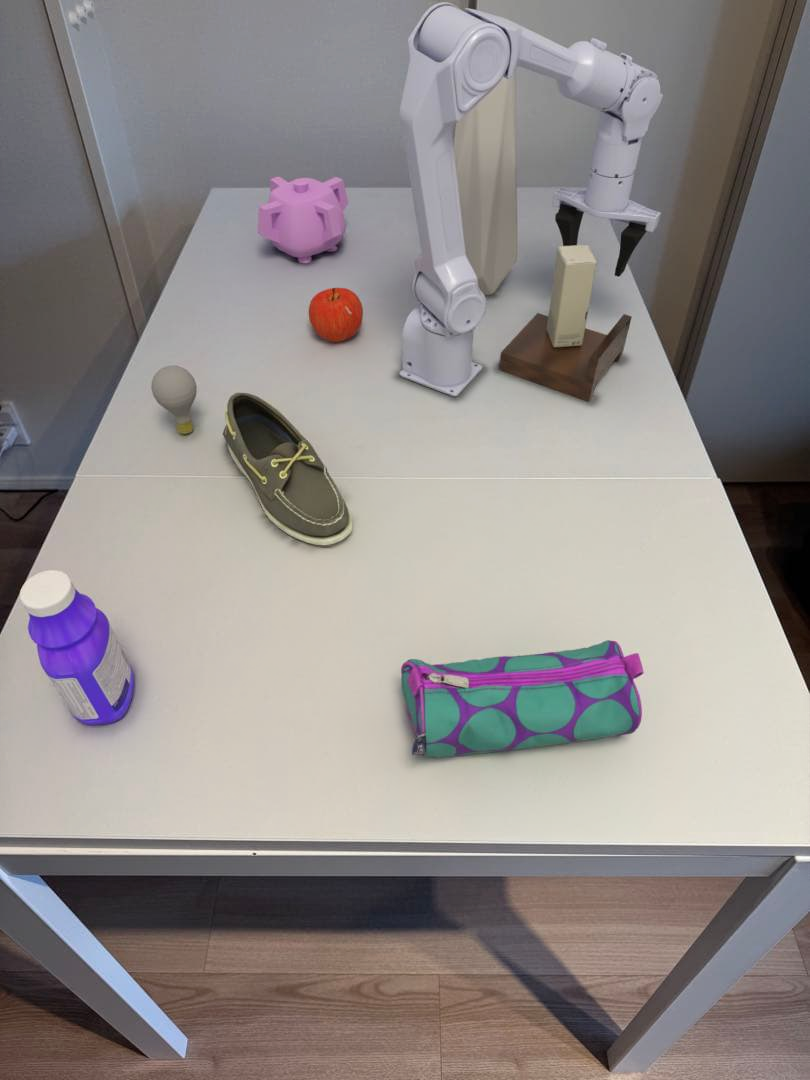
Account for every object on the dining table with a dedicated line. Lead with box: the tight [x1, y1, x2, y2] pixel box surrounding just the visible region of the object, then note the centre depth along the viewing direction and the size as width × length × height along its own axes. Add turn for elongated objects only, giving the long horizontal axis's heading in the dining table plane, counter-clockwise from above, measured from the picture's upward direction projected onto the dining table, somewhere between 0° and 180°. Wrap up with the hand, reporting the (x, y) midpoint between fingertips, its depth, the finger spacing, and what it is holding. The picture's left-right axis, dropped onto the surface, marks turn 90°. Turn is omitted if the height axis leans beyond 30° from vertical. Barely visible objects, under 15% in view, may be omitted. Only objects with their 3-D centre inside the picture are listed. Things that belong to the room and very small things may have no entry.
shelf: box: [498, 312, 633, 403], centre depth 109 cm, size 14×12×7 cm
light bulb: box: [151, 365, 198, 435], centre depth 99 cm, size 6×6×10 cm
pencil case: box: [400, 639, 645, 758], centre depth 70 cm, size 21×9×10 cm, turn 97°
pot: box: [257, 176, 350, 264], centre depth 130 cm, size 18×17×12 cm
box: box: [547, 244, 598, 347], centre depth 106 cm, size 5×4×13 cm
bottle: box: [19, 569, 135, 726], centre depth 69 cm, size 7×6×17 cm
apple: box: [308, 287, 364, 343], centre depth 114 cm, size 8×8×8 cm
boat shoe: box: [222, 392, 354, 546], centre depth 93 cm, size 24×10×7 cm, turn 27°
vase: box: [453, 70, 519, 297], centre depth 114 cm, size 12×12×33 cm
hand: (594, 265), depth 110 cm, fingers open, 7 cm apart
